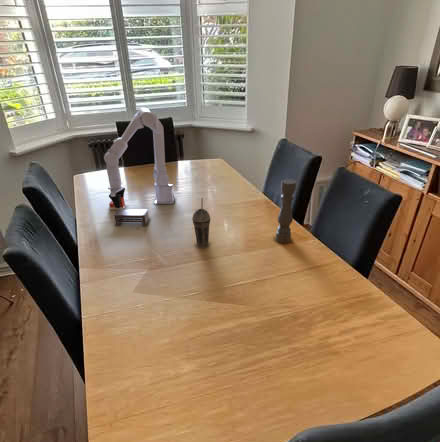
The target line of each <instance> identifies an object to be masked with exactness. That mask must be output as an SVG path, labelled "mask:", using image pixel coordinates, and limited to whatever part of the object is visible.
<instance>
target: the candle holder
mask: <svg viewBox="0 0 440 442" xmlns="http://www.w3.org/2000/svg"><path fill="white" fill-rule="evenodd" d="M296 190H297V180H295V179H293V178H284V179H282V180H281V181H280V191H281V195H280V199H281V208H280V210H279V213H278V215H277V222H278V227H277V228H276V232H275V241H276V242H278V243H280V244H287V243H290V242H291V239H292V238H291V237H292V232H291V231H292V229H291V227H290V226H291V225H292V223H293V220H294V218H293V211H292V209H293V208H292V205H293V204H292V203H293V200H294V199H295V195H294V194H295V192H296Z"/></svg>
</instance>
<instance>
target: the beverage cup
mask: <svg viewBox="0 0 440 442" xmlns="http://www.w3.org/2000/svg"><path fill="white" fill-rule="evenodd" d="M200 199H201V203H200V204H201V207H200V208H199V209H196V210H195V211H194V213H193V214H192V224H193V227H194V234H195V241H196V246H197V247H198V248H200V249H201V248H208V246H209V240H210V239H209V238H210V237H209V236H210V224H211V216H210V212H208V211H207V210H206V209H204V208H203V205H204V198H203V197H201V198H200Z"/></svg>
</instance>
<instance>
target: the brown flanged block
mask: <svg viewBox="0 0 440 442" xmlns="http://www.w3.org/2000/svg"><path fill="white" fill-rule="evenodd" d="M113 217H114V218H113V219H114V221H115V222H114V223H115V226H120V224H121V223H136V224H137V223H139V224H140V223H142V224H143V226H147V224H148V222H149V220H150V218H149V217H150V216H149V210H148V209H147V208H141V209H140V208H133V209H131V208H128V209H126V208H124V209H116V212H115V213H114V215H113Z"/></svg>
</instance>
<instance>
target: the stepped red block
mask: <svg viewBox="0 0 440 442" xmlns="http://www.w3.org/2000/svg"><path fill="white" fill-rule="evenodd" d="M108 204H109V205H108V206H109V207H108V208H109V210H118V209H126V202H125V196H124V197H120V208H115V206H114V203H113V202H112V200H110V201H109V203H108Z"/></svg>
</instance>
